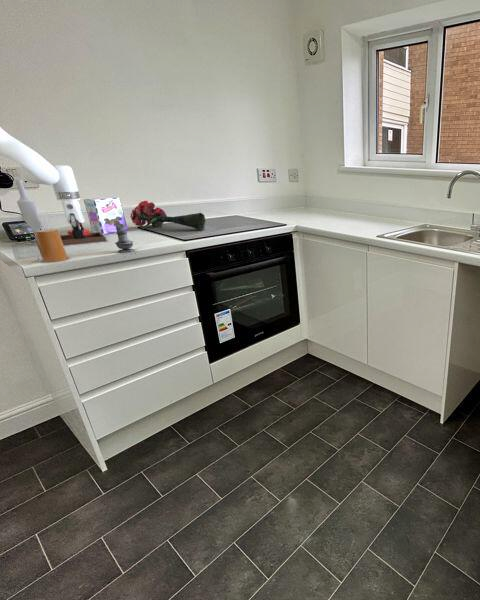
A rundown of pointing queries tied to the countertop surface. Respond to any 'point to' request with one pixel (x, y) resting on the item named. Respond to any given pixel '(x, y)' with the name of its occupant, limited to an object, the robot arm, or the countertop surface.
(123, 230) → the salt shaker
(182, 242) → the countertop surface
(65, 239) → the tray
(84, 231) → the lid
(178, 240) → the countertop surface
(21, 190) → the bottle
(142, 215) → the carnation
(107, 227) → the candy box
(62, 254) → the jar
